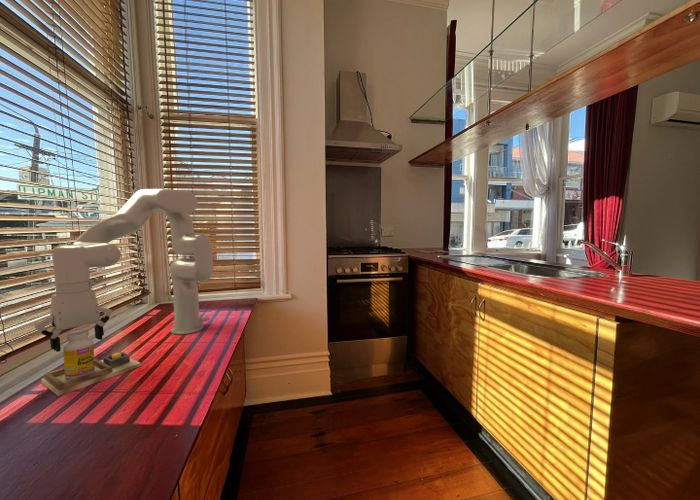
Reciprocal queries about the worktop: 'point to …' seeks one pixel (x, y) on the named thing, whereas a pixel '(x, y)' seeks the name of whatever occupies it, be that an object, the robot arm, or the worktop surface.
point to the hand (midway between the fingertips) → (79, 344)
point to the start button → (116, 355)
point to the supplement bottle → (78, 355)
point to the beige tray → (101, 372)
